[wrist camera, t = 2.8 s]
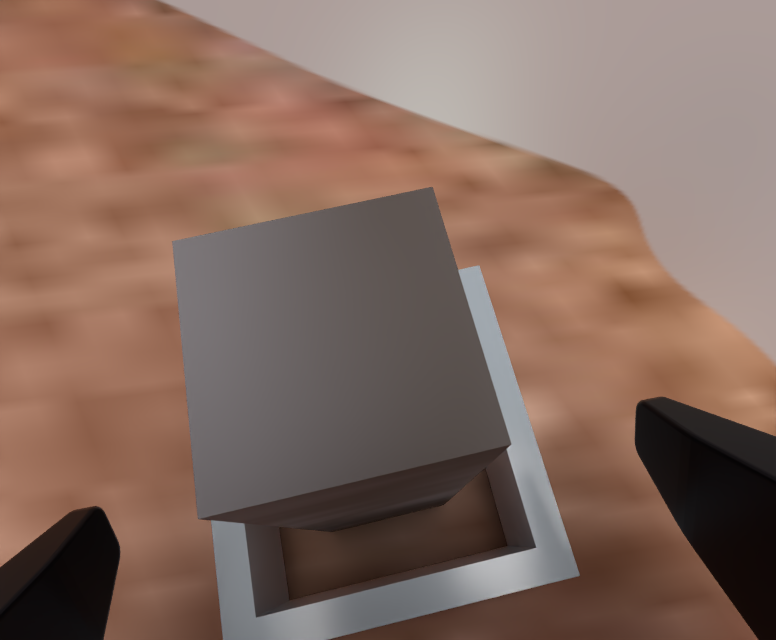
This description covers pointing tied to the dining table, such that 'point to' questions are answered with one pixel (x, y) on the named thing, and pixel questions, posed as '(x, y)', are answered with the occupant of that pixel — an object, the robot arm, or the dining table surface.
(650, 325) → the dining table surface
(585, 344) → the dining table surface
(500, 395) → the square frame
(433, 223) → the dark grey pillar
